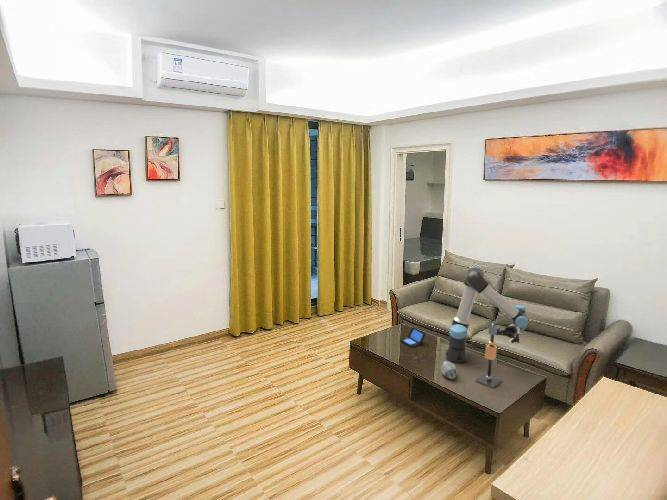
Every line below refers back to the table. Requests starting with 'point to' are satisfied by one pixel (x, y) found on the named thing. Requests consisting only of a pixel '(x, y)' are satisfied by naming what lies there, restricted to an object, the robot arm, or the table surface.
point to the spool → (448, 370)
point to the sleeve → (490, 352)
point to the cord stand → (489, 364)
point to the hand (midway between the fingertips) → (498, 339)
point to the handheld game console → (413, 338)
